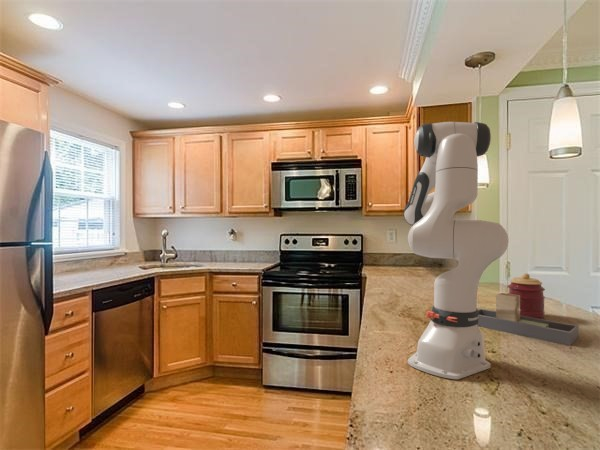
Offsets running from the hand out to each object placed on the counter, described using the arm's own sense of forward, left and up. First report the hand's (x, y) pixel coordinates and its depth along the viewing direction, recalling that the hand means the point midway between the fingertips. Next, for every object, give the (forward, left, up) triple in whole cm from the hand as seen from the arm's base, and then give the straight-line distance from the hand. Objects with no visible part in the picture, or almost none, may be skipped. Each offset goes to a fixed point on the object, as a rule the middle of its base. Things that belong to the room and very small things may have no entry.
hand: (465, 255), depth 139 cm
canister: (+25, -14, -26) cm, 38 cm away
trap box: (0, -19, -25) cm, 32 cm away
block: (0, -15, -22) cm, 27 cm away
